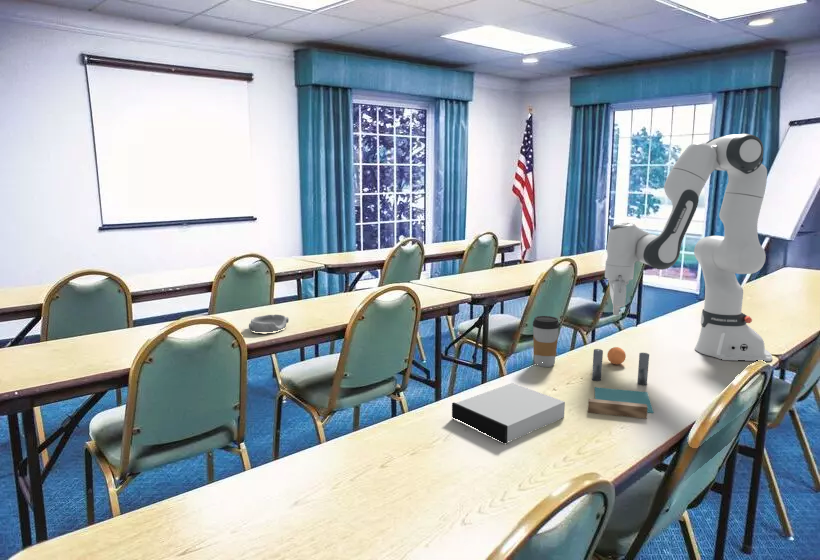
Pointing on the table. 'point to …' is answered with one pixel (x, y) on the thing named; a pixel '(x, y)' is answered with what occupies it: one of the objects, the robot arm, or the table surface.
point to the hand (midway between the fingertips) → (615, 314)
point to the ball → (616, 355)
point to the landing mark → (624, 396)
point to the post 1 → (597, 364)
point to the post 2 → (643, 368)
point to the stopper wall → (617, 408)
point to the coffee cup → (545, 340)
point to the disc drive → (508, 411)
